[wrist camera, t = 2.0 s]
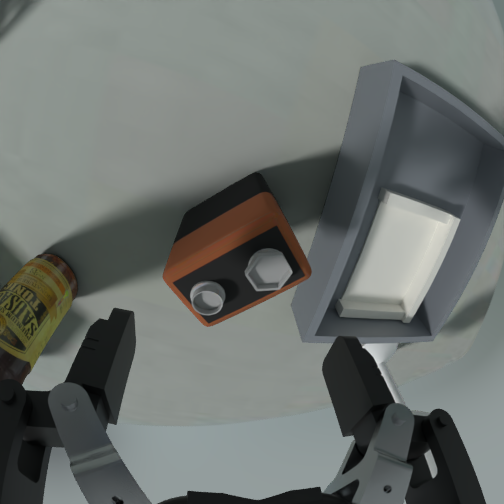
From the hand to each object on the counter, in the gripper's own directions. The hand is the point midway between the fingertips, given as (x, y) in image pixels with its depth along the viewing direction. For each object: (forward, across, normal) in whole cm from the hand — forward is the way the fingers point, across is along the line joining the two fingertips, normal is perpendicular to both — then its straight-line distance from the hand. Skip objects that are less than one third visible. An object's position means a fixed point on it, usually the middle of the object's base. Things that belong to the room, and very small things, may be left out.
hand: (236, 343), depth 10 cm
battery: (+13, 0, 0) cm, 13 cm away
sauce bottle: (+14, +17, +9) cm, 23 cm away
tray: (+13, -15, -4) cm, 20 cm away
